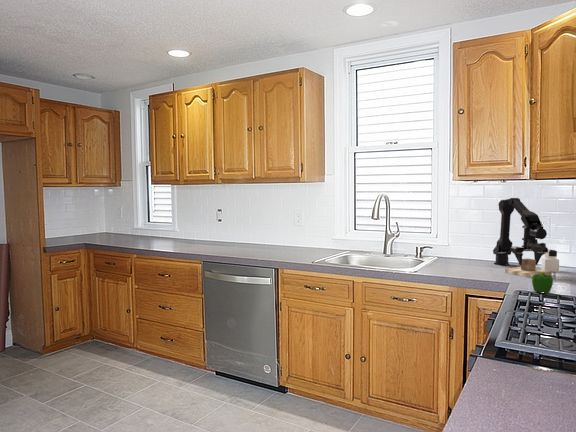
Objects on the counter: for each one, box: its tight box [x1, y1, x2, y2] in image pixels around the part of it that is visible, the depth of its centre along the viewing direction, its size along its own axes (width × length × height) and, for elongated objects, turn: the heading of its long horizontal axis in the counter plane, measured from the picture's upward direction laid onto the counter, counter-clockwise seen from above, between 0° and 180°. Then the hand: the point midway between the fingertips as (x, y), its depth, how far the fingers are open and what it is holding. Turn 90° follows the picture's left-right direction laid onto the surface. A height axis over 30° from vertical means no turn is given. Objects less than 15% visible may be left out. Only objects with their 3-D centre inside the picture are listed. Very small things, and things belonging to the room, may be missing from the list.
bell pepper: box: [531, 272, 554, 294], centre depth 197 cm, size 8×8×10 cm
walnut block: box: [520, 257, 537, 271], centre depth 237 cm, size 5×5×6 cm
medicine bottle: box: [540, 249, 560, 273], centre depth 246 cm, size 7×7×12 cm
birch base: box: [504, 266, 553, 279], centre depth 238 cm, size 16×16×2 cm
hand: (528, 265), depth 237 cm, fingers open, 9 cm apart
